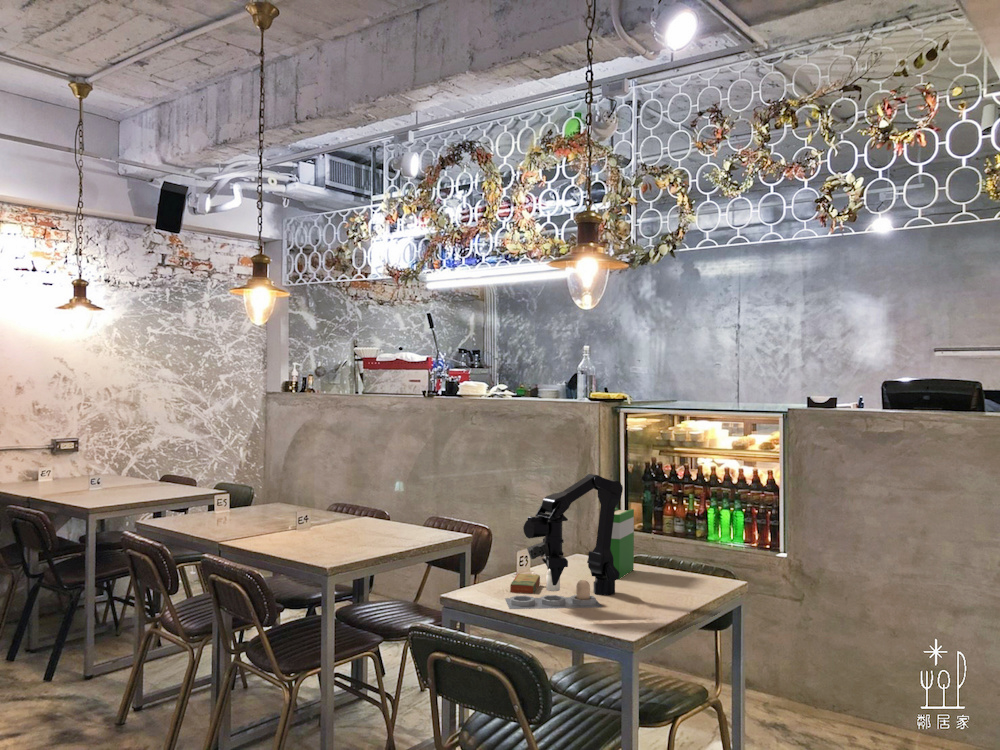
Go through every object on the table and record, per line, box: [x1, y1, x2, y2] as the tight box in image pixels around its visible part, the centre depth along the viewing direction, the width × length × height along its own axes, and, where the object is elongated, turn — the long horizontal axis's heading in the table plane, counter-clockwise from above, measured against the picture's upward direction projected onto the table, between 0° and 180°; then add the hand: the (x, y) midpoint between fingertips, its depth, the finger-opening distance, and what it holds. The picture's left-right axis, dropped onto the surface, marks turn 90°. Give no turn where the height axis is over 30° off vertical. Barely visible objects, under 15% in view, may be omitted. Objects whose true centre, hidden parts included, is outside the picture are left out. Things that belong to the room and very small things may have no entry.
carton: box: [509, 573, 541, 594], centre depth 274 cm, size 8×16×4 cm, turn 169°
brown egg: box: [575, 579, 591, 600], centre depth 254 cm, size 4×4×7 cm
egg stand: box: [504, 594, 603, 610], centre depth 253 cm, size 30×13×2 cm, turn 96°
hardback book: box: [610, 507, 635, 580], centre depth 301 cm, size 18×7×24 cm, turn 153°
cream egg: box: [545, 569, 561, 592], centre depth 254 cm, size 4×4×7 cm
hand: (553, 583), depth 254 cm, fingers closed on cream egg, 4 cm apart
